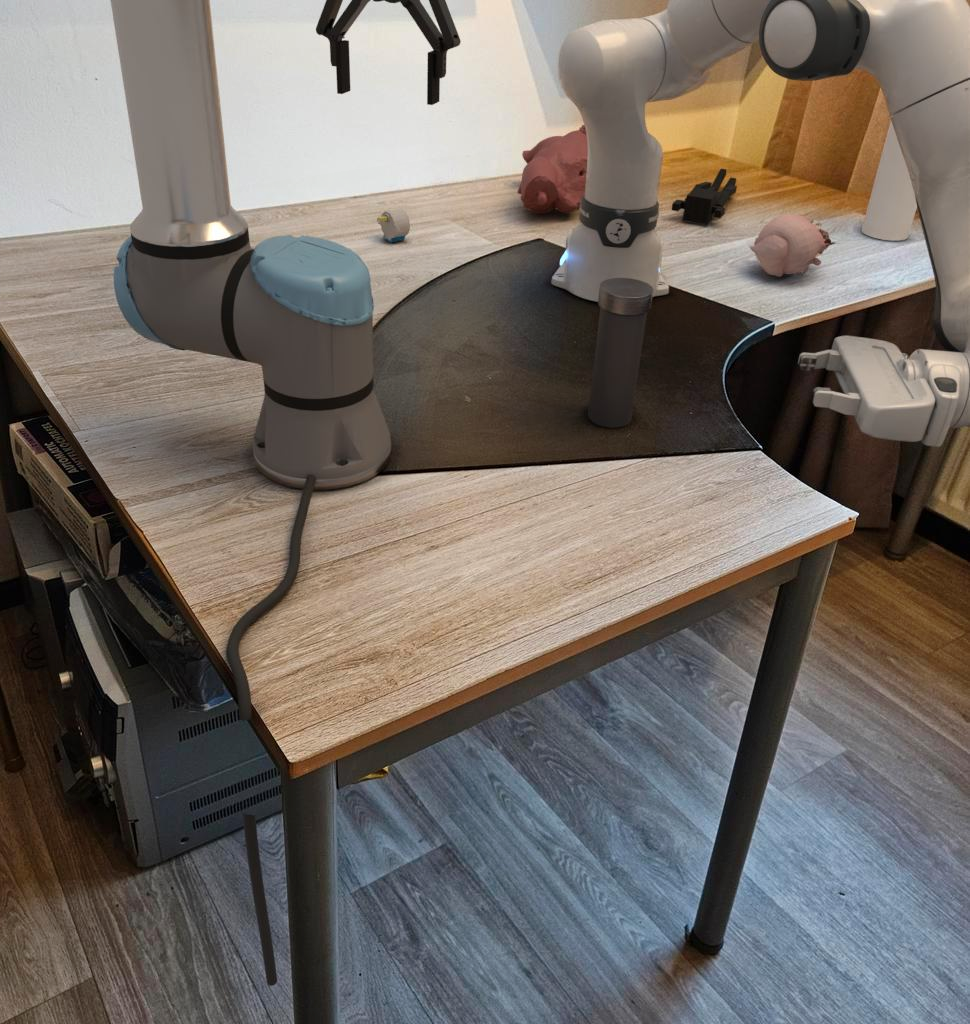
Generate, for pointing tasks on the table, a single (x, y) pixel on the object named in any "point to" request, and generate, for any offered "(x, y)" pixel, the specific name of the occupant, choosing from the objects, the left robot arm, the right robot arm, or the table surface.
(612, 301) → the lid
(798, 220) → the toy
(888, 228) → the tall white tube
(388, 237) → the electric motor
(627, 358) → the jar
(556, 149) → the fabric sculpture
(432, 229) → the table surface
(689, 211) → the toy
